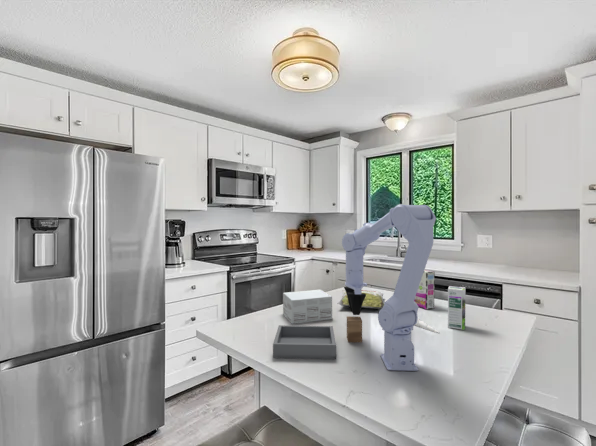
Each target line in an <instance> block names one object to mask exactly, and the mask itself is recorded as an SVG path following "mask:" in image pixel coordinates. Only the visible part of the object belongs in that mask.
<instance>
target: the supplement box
mask: <svg viewBox="0 0 596 446" xmlns="http://www.w3.org/2000/svg"><path fill="white" fill-rule="evenodd" d="M282 314H283V316H284V317H285V318H286V319H287V320H288V321H289V322H290V323H291V324H292V325H293V324H300V323H301V324H302V323H309V322H318V321H328V320H333V296H332V295H331V294H329V293H327V292H325V291H324V290H323V289H320V288H319V289H312V290H300V291H289V292H288V291H287V292H283V293H282Z"/></svg>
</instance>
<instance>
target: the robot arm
mask: <svg viewBox="0 0 596 446" xmlns="http://www.w3.org/2000/svg"><path fill="white" fill-rule="evenodd" d="M436 220H437V217H436V215H435V213H434V212H433V210H432V208H431V207H430V206H429V205H428V204H427V205H426V204H420V205H419V204H403V203H399V204H397V205H395V206H393V207H392V208H390V209H389V212H387V213H386V214H385V215H384V216H382V217H381V218H380V219H378V220H377V221H375V222H374V223H372V222H364V223H363V224H362V226H361V227H359V228H356V229H355V230H354V232H352V233H350V232H347V233H345V234H344V235H343V236H342V239H341V240H342V241H341V246H342V248H343V249H344V251H345V282H344V286H343V288H344V289H343V290H345V291H346V294H347V298H348V304H349V306H348V307H349V309H351V312H352V316H360V314H361V312H362V303H363V301H364V299H365V297H366V294H365V293H361V290H363V288H364V287H367V286H368V283H367V282H364V256H365V254H366V249H367V248H368V245H371V244H372V243H374V242H375V241H377V240H379V239H380V236H381V234H382V233H384V232H386V231H388V230H390V229H392V228H394V227H395V228H396V230H398V232H399V233H400V235H402V237H403V238H404V239H405V240H406V241H407V242H408V246H407V250H406V253H405V255H404V259H403V262H402V266H401V268H400V272H399V274H398V278H397V281H396V284H395V288H394V291H393V294H392V296H390V298H388V299H387V300H386V301H385V302H383V303H384V306H383V308H382V309H379V310H378V311H379V312H378V314H377V320H378V323H379V325H380V328H382V331H383V333H384V334H383V341H384V342H383V349H384V351H383V353H380V357H381V359H382V361H383V364H384V366H385V368H386V370H388V371H409V372H410V371H411V372H413V371H415V372H416V371H417V372H418V371H419V368H418V366H416V364H415V346H414V345H415V344H414V343H413V341H412V331H413V330H414V326H415V324H416V323H417V320H418V319H419V318H418V317H419V316H418V312H419V311H418V310H419V308H420V307H418V305H417V304H416V302H415V301H414V299H415V296H416V293H417V290H418V287H419V284H420V281H421V278H422V275H423V272H424V270H426V265H427V264H428V260H429V257H430V254H431V251H432V248H433V245H434V226H435V223H436Z"/></svg>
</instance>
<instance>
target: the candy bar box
mask: <svg viewBox="0 0 596 446" xmlns="http://www.w3.org/2000/svg"><path fill="white" fill-rule="evenodd" d="M435 276H436V275H435V271H433V270H428V269H425V270H424V272H423V275H422V278H421V281H420V284H419V287H418V290H417V293H416V296H415V299H414V301H415V302H416V304H417V305H418V307H419V308H420V309H422V310H423V309H424V310H433V309H435V279H436V277H435Z"/></svg>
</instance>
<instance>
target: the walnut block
mask: <svg viewBox="0 0 596 446" xmlns="http://www.w3.org/2000/svg"><path fill="white" fill-rule="evenodd" d="M346 339H347V343H363V319H362V318H361V316H356V315H351V316H350V315H346Z"/></svg>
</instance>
